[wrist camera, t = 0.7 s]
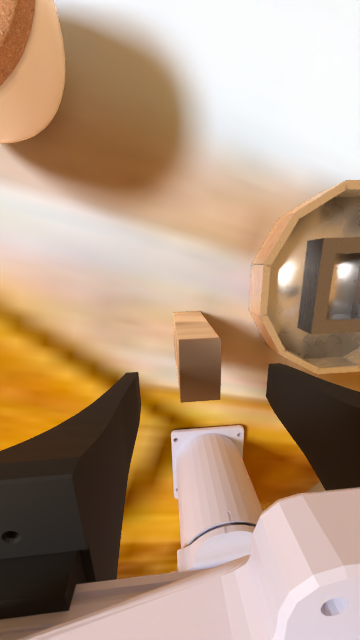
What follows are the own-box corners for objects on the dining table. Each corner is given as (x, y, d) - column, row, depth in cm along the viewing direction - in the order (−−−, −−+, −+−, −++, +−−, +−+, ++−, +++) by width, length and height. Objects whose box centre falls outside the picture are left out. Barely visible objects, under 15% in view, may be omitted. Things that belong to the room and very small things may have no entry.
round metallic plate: (391, 356, 23) (417, 367, 21) (245, 365, 22) (255, 378, 20) (431, 190, 19) (470, 179, 16) (254, 192, 18) (269, 180, 16)
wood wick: (199, 350, 21) (220, 399, 14) (174, 351, 21) (180, 402, 13) (199, 310, 20) (221, 340, 13) (173, 312, 20) (178, 342, 12)
